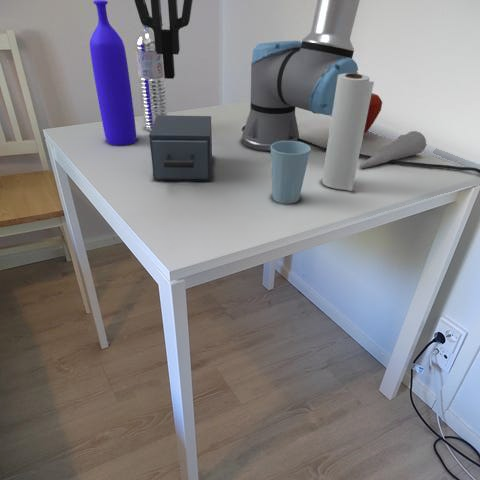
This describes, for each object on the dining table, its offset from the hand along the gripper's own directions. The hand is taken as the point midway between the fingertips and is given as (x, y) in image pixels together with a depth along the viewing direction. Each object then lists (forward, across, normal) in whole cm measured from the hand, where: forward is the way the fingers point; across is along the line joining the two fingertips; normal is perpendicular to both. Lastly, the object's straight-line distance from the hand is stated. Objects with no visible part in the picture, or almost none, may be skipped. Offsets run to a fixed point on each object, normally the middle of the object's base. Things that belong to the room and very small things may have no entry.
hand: (169, 76), depth 72 cm
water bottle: (+23, +10, -48) cm, 54 cm away
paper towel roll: (+23, -34, -9) cm, 42 cm away
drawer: (+22, 0, -14) cm, 26 cm away
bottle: (+23, +18, -37) cm, 47 cm away
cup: (+23, -22, -2) cm, 32 cm away
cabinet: (+22, 0, -18) cm, 29 cm away
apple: (+23, -47, -44) cm, 68 cm away
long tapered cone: (+23, -51, -23) cm, 60 cm away
